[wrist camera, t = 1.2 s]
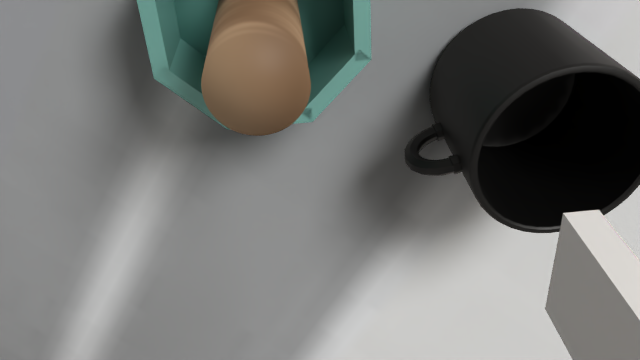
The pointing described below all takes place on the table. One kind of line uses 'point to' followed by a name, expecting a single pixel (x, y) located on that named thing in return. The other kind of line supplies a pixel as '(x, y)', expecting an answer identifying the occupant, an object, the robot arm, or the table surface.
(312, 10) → the teal octagonal bowl
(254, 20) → the dowel
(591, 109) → the mug
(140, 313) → the table surface
